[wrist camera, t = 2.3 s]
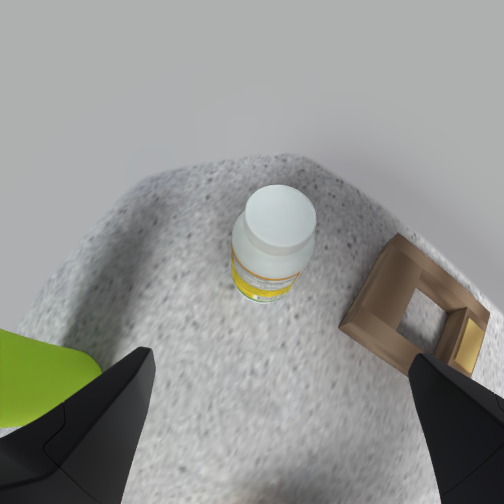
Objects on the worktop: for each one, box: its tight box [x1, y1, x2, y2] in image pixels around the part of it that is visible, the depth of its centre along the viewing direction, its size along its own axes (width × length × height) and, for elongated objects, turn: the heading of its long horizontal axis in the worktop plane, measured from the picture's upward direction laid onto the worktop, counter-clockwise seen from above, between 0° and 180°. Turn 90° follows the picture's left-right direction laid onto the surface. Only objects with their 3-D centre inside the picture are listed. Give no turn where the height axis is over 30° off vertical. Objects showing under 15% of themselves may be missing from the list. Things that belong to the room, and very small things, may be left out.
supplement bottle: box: [231, 185, 316, 303], centre depth 20 cm, size 5×5×10 cm
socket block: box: [338, 233, 490, 378], centre depth 21 cm, size 14×10×3 cm
